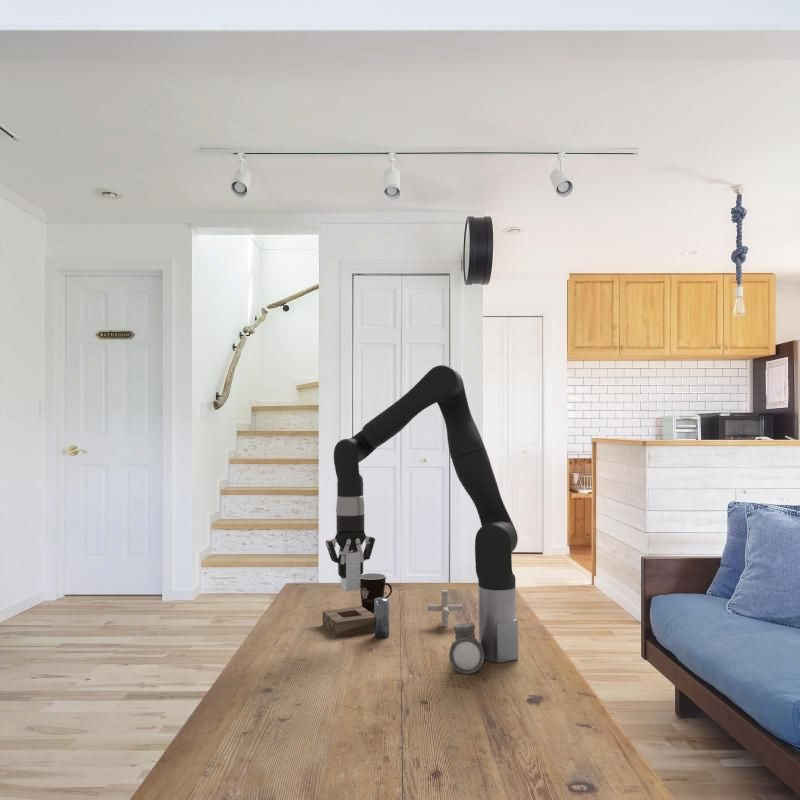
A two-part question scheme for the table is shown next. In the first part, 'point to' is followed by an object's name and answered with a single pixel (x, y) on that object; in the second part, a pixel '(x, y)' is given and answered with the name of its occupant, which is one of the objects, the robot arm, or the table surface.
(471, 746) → the table surface
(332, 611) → the socket block
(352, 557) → the square bit
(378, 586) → the coffee mug
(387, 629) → the round bit
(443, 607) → the pipe connector
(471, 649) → the pipe fitting
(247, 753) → the table surface
